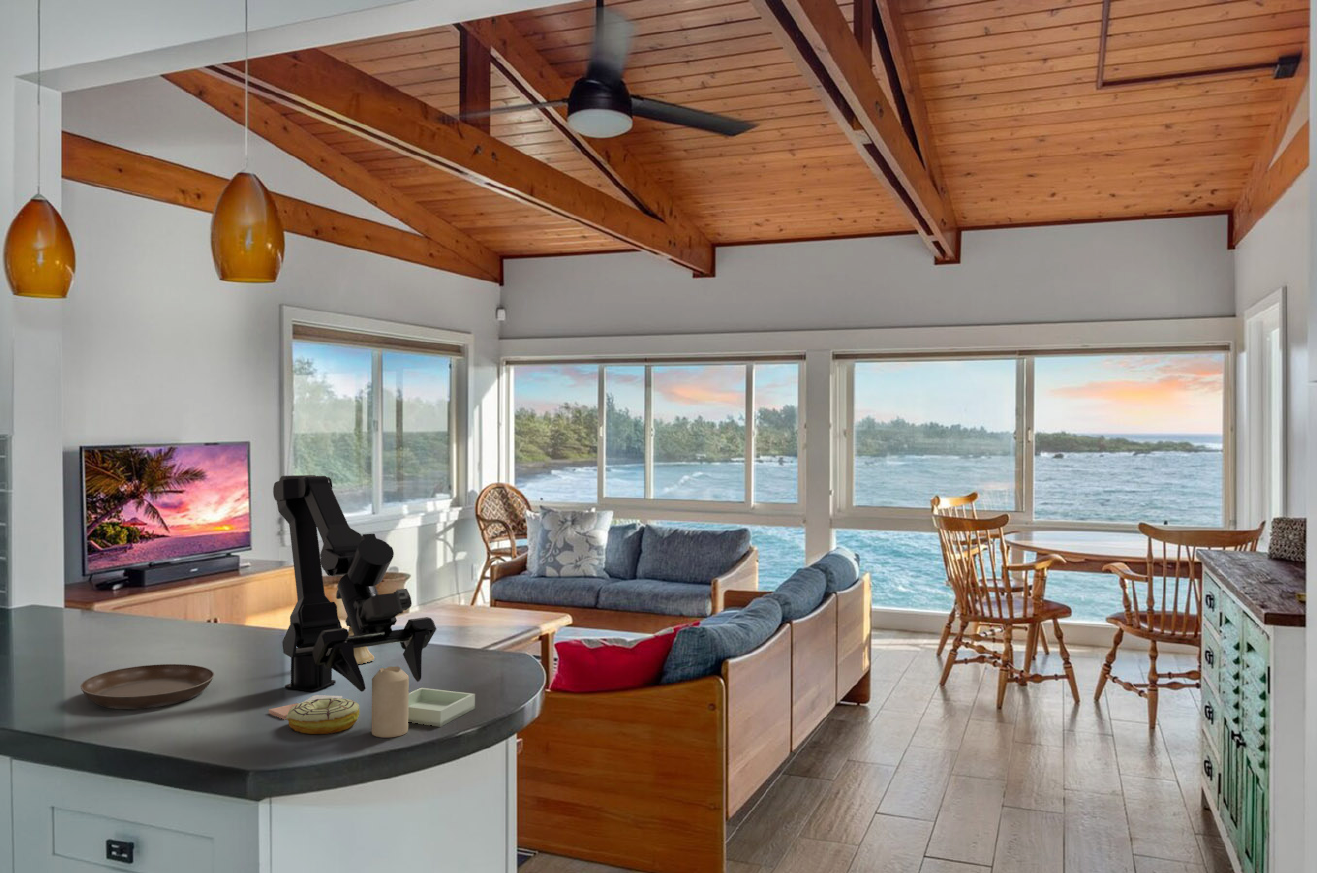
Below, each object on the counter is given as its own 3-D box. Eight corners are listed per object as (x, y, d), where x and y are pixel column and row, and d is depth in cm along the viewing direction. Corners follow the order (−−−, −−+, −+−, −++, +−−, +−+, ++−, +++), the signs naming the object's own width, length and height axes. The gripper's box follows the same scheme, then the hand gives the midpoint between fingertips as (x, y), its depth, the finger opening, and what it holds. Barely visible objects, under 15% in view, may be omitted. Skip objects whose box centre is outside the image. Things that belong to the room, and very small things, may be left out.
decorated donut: (317, 714, 158) (317, 691, 158) (372, 721, 154) (372, 698, 154) (273, 733, 148) (273, 708, 148) (331, 740, 144) (331, 715, 144)
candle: (398, 739, 145) (398, 673, 145) (364, 736, 146) (365, 671, 146) (414, 728, 150) (414, 665, 150) (382, 725, 151) (382, 663, 151)
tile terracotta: (268, 716, 157) (269, 709, 157) (297, 710, 161) (297, 703, 161) (284, 723, 154) (284, 715, 154) (312, 716, 158) (312, 709, 158)
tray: (383, 719, 154) (384, 704, 154) (420, 702, 164) (421, 687, 164) (440, 726, 151) (440, 711, 151) (474, 708, 161) (474, 694, 161)
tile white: (301, 710, 161) (301, 703, 161) (314, 702, 166) (314, 695, 166) (329, 711, 160) (329, 704, 160) (342, 703, 165) (342, 696, 165)
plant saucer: (232, 698, 167) (233, 679, 167) (100, 722, 152) (101, 701, 152) (190, 675, 181) (190, 658, 181) (65, 696, 167) (65, 677, 167)
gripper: (320, 578, 145) (348, 664, 137) (431, 568, 158) (464, 646, 149) (300, 622, 151) (327, 707, 143) (409, 609, 164) (439, 686, 155)
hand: (391, 685), depth 148 cm, fingers open, 9 cm apart
